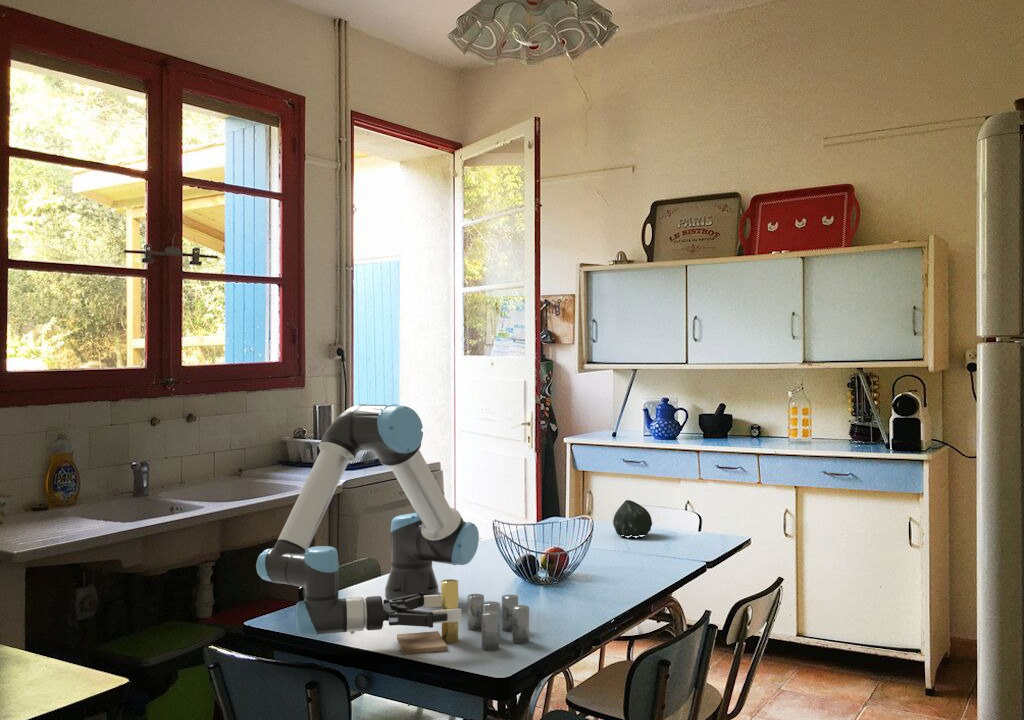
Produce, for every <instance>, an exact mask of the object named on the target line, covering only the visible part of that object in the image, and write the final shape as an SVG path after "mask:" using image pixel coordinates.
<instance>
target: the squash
mask: <svg viewBox="0 0 1024 720" xmlns="http://www.w3.org/2000/svg"><path fill="white" fill-rule="evenodd" d="M652 520H653V519H652V516H651V514H650V512H649V511H648V510H647V509H646V508H645V507H644V506H642V505H641V504H639V503H637V502H635V501H632V500H630V499H626V500H625V501H623V503H622V504H621V505H620V507H618V509H617V510H616V512H615V513H614V516H613V519H612V522H613V523H612V524H613V527H614V529H615V532H616V534H617V536H619V535H624V536H630V535H632V536H639V535H646V536H647V535H648V533H649V532H651V530H652V526H653V521H652Z"/></svg>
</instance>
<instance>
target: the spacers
mask: <svg viewBox="0 0 1024 720" xmlns="http://www.w3.org/2000/svg"><path fill="white" fill-rule="evenodd" d="M501 609H502V610H501V611H502V612H501V614H502V616H501V620H502V621H501V627H502V631H504V632H511V633H512V634H511V636H512V637H511V639H512V643H513V644H516V645H517V644H518V645H524V644H528V643H530V607H529V605H525V604H519V596H518V595H516V594H503V595H502V596H501ZM467 628H468V630H469V631H473V632H474V631H475V632H477V631H481V649H482V651H487V652H494V651H495V652H496V651H497V650H500V634H501V633H500V631H501V630H500V602H499V601H492V600H491V601H485V596H484V594H482V593H472V594H468V595H467Z"/></svg>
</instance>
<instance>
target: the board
mask: <svg viewBox="0 0 1024 720" xmlns="http://www.w3.org/2000/svg"><path fill="white" fill-rule="evenodd" d="M396 641H397V643H398V646H399V647H400V650H401V652H403V653H402V655H410V654H411V655H412V653H414V654H422V652H425V653H434V651H437V652H445V651H448V650H447V649H448V645H447V643H445V642H444V640H443V639H442V634H440V632H439V631H438V630H435V631H434V630H433V631H423V632H410V633H401V634H400V633H398V634H396Z"/></svg>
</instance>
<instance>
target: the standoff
mask: <svg viewBox="0 0 1024 720" xmlns="http://www.w3.org/2000/svg"><path fill="white" fill-rule="evenodd" d="M440 582H441V583H440V586H441V587H440V591H441V593H440V594H441V606H440V607H441V609H440V610H447V609H459V580H458V579H450V578H449V579H443V580H442V581H440ZM441 637H442V639H443V640H444V642H445V644H456V643H458V642H459V641H460V640H459V639H460V638H459V621H457V622H445V623H441Z"/></svg>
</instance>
